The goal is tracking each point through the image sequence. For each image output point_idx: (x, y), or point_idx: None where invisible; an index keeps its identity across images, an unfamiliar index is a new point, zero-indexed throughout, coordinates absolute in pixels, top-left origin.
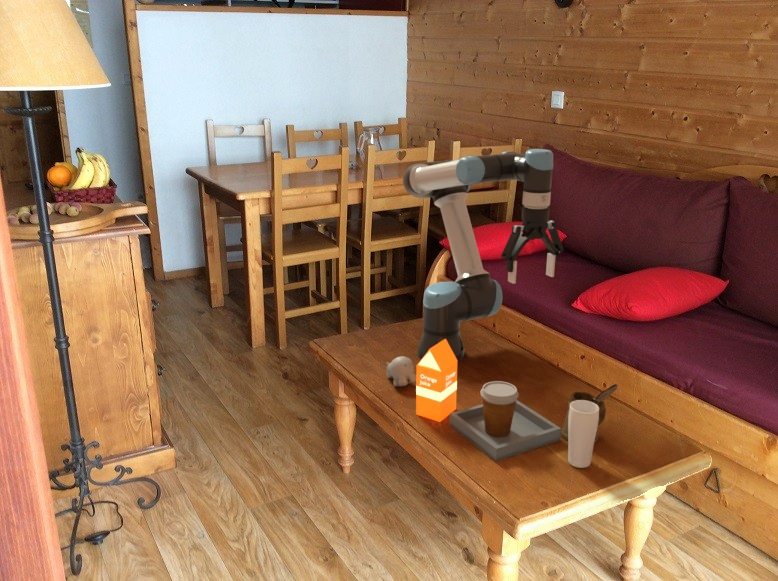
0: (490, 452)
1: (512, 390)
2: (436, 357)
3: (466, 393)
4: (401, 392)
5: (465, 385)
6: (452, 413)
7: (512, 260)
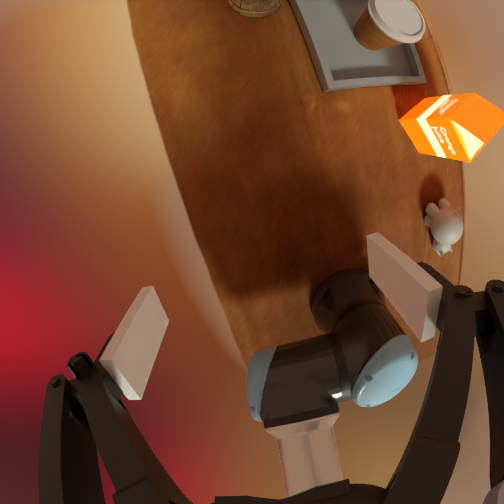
0: None
1: (381, 2)
2: (491, 108)
3: (369, 160)
4: (440, 195)
5: (360, 187)
6: (424, 80)
7: (461, 288)
